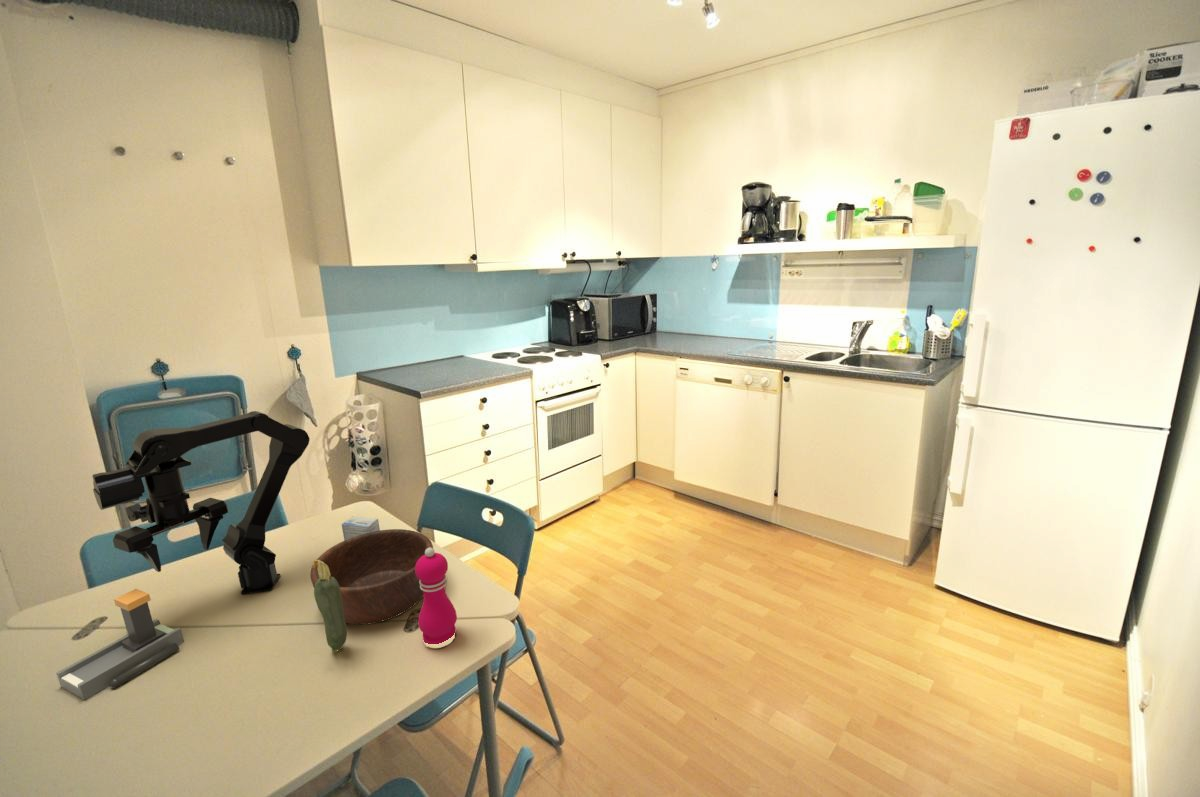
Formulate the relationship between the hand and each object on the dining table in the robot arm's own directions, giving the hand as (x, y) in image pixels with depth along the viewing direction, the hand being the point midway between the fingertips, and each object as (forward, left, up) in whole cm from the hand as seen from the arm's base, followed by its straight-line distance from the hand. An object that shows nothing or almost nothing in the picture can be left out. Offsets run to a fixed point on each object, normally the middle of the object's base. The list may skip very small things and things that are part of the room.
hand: (183, 560), depth 114 cm
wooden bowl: (-38, +4, -13) cm, 40 cm away
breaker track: (+6, +13, -13) cm, 20 cm away
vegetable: (-33, +21, -13) cm, 41 cm away
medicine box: (-31, -18, -13) cm, 38 cm away
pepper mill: (-52, +22, -13) cm, 58 cm away
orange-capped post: (+4, +11, -11) cm, 16 cm away
